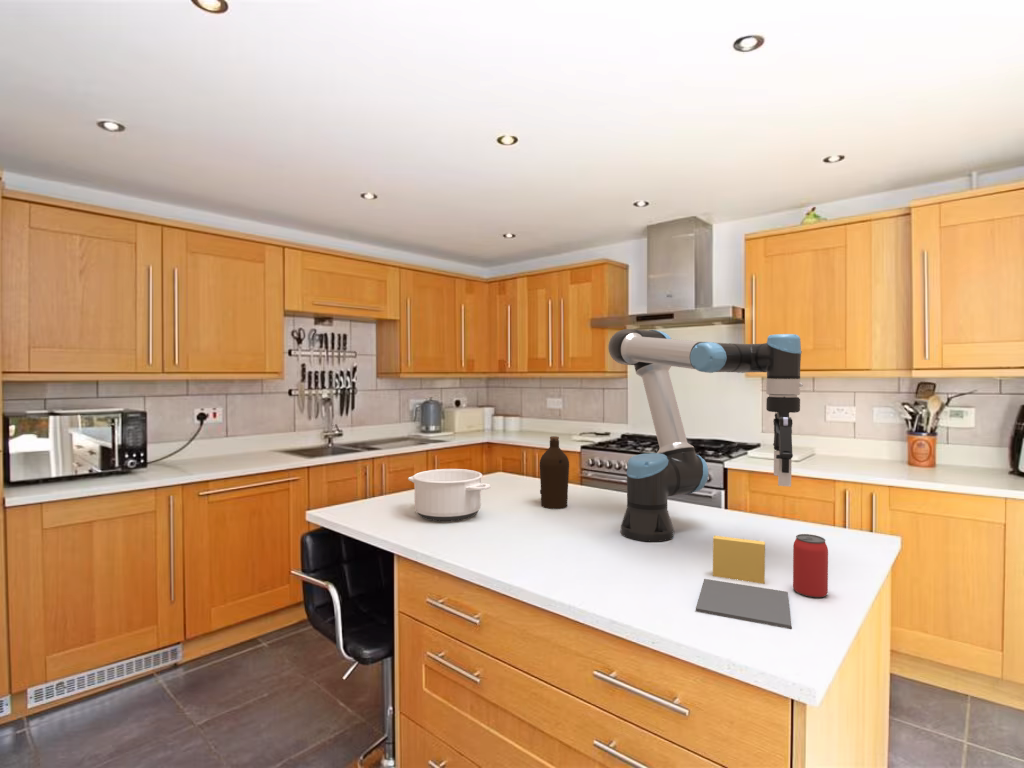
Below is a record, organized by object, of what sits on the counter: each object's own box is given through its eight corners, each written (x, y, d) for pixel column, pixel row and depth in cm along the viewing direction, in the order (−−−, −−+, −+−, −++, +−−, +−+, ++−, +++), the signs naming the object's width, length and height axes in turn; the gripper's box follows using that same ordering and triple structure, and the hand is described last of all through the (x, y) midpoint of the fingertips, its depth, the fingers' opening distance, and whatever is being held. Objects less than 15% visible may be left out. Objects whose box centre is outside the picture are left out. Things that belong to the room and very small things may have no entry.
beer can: (786, 586, 118) (787, 533, 118) (814, 585, 119) (815, 532, 118) (805, 599, 111) (805, 542, 111) (834, 598, 112) (835, 542, 112)
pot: (507, 514, 180) (507, 474, 179) (466, 531, 160) (466, 486, 160) (433, 501, 197) (433, 465, 197) (387, 515, 178) (387, 475, 177)
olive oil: (574, 505, 192) (574, 436, 191) (558, 511, 183) (558, 439, 183) (550, 500, 198) (550, 434, 198) (533, 506, 190) (533, 437, 190)
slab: (712, 576, 124) (713, 538, 124) (713, 572, 127) (713, 535, 126) (764, 584, 120) (764, 544, 120) (764, 580, 122) (764, 541, 122)
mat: (695, 611, 106) (695, 608, 106) (704, 581, 121) (704, 578, 121) (791, 628, 99) (791, 625, 99) (787, 594, 114) (787, 591, 114)
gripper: (807, 398, 119) (805, 492, 120) (794, 394, 143) (793, 472, 143) (770, 398, 122) (768, 489, 123) (763, 393, 145) (762, 470, 146)
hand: (781, 480), depth 133 cm, fingers open, 13 cm apart
